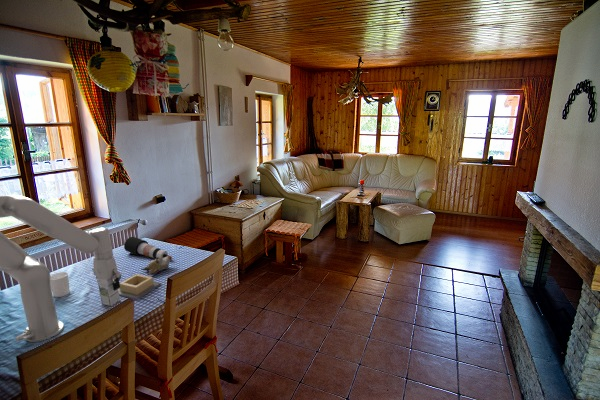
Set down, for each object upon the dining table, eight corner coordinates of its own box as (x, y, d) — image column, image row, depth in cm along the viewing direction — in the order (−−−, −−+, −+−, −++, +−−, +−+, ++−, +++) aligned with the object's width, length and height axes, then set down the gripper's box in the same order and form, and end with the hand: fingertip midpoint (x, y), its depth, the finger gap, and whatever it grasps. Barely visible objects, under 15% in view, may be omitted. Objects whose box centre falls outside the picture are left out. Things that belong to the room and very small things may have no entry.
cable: (168, 269, 200) (162, 259, 193) (128, 254, 211) (121, 244, 205) (178, 256, 206) (173, 246, 200) (139, 243, 218) (133, 233, 211)
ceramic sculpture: (172, 256, 187) (145, 265, 177) (174, 269, 189) (148, 279, 179) (164, 250, 194) (138, 259, 184) (167, 263, 197) (141, 273, 187)
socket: (136, 300, 158) (135, 291, 157) (112, 293, 163) (111, 285, 162) (161, 284, 173) (160, 276, 171) (137, 279, 178) (136, 271, 177)
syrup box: (120, 300, 158) (116, 273, 154) (110, 306, 153) (106, 279, 149) (111, 298, 160) (107, 271, 156) (101, 304, 154) (96, 277, 150)
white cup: (49, 298, 159) (45, 280, 156) (56, 290, 166) (52, 273, 163) (67, 296, 161) (64, 278, 158) (73, 288, 168) (70, 271, 166)
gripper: (82, 254, 149) (89, 287, 154) (110, 260, 143) (116, 294, 148) (97, 248, 156) (103, 280, 161) (124, 253, 150) (129, 286, 155)
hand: (109, 287), depth 154 cm, fingers open, 9 cm apart
